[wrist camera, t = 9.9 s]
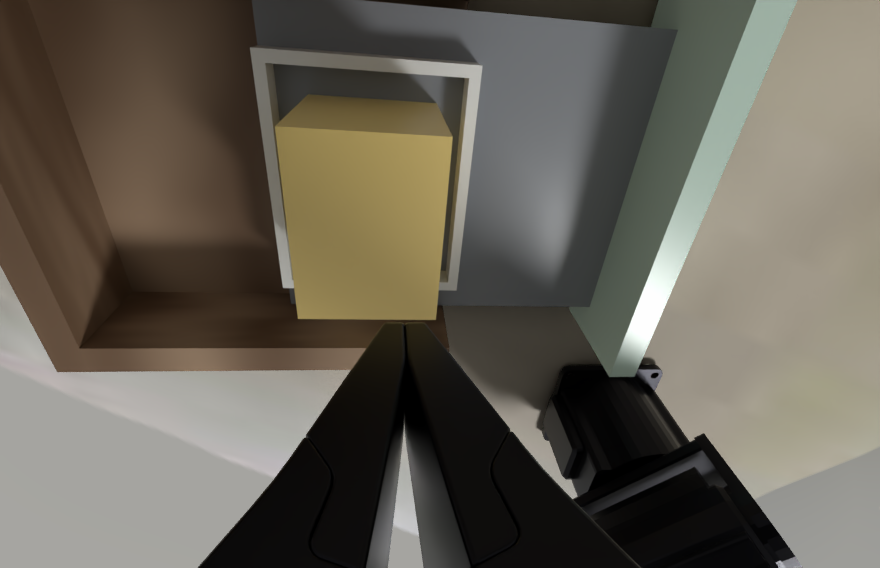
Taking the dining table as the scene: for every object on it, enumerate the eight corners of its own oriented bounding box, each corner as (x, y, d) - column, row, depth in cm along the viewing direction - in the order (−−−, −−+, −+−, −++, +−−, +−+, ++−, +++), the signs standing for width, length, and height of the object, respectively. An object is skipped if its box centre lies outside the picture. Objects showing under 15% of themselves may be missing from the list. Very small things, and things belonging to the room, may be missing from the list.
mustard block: (436, 103, 15) (452, 137, 11) (426, 250, 19) (435, 319, 14) (308, 94, 15) (274, 126, 11) (319, 247, 18) (297, 318, 14)
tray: (694, -17, 16) (808, -27, 12) (589, 309, 24) (634, 376, 19) (259, -63, 14) (198, -97, 10) (301, 306, 22) (278, 380, 17)
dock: (467, -39, 15) (496, -59, 11) (437, 303, 23) (447, 368, 19) (-25, -93, 13) (-217, -141, 9) (124, 300, 21) (57, 372, 17)
